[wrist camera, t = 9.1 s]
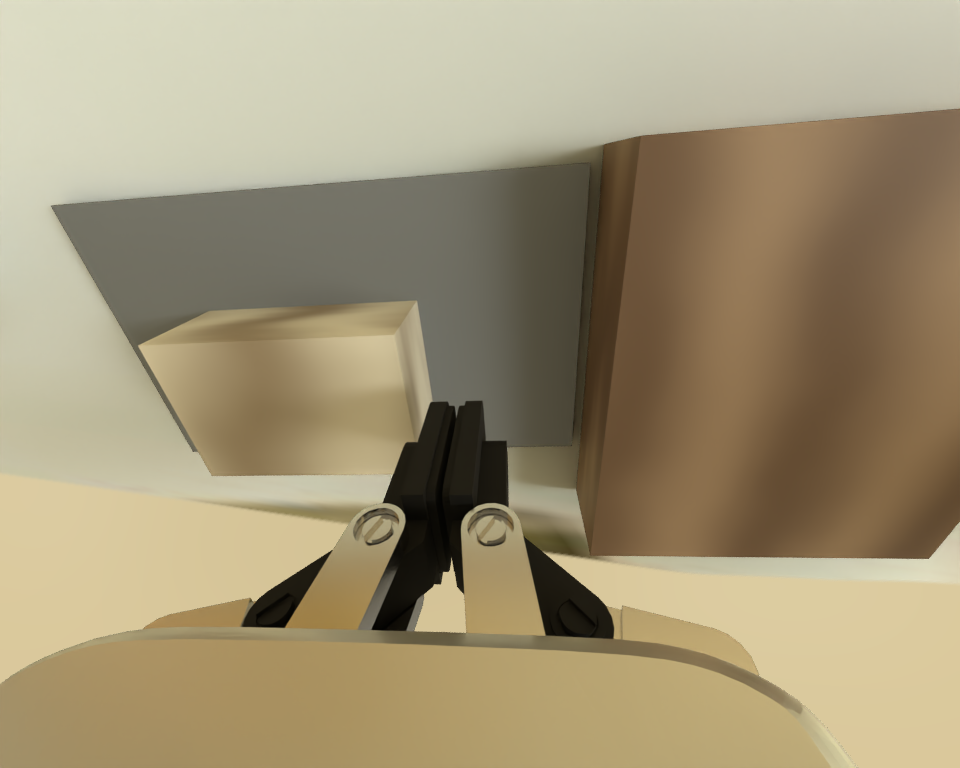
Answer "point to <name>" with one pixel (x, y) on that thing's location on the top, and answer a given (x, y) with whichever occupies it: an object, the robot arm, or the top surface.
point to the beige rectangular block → (297, 387)
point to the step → (776, 342)
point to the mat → (374, 273)
